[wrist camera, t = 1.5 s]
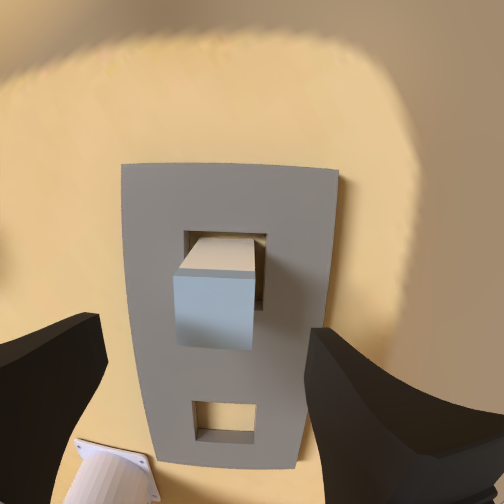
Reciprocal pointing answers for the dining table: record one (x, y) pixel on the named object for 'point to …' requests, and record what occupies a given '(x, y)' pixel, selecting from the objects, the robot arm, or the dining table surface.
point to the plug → (216, 295)
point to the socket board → (265, 312)
